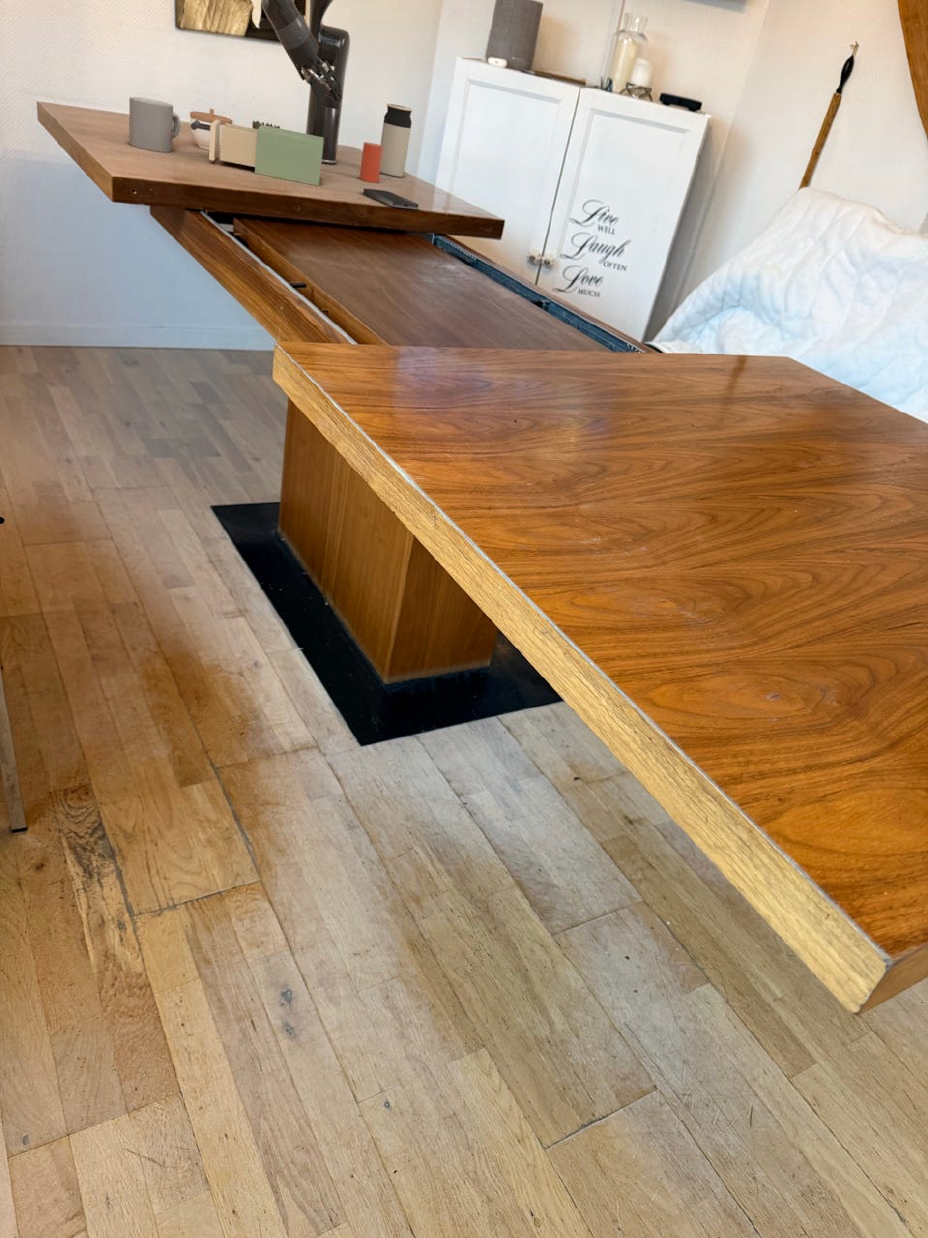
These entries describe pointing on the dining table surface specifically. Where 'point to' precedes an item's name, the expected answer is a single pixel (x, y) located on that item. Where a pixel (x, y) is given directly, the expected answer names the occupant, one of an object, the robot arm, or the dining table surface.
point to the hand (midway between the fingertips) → (329, 97)
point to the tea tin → (371, 162)
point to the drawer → (231, 142)
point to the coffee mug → (152, 124)
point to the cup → (257, 124)
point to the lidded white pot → (203, 135)
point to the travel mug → (395, 140)
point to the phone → (390, 199)
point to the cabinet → (288, 155)
